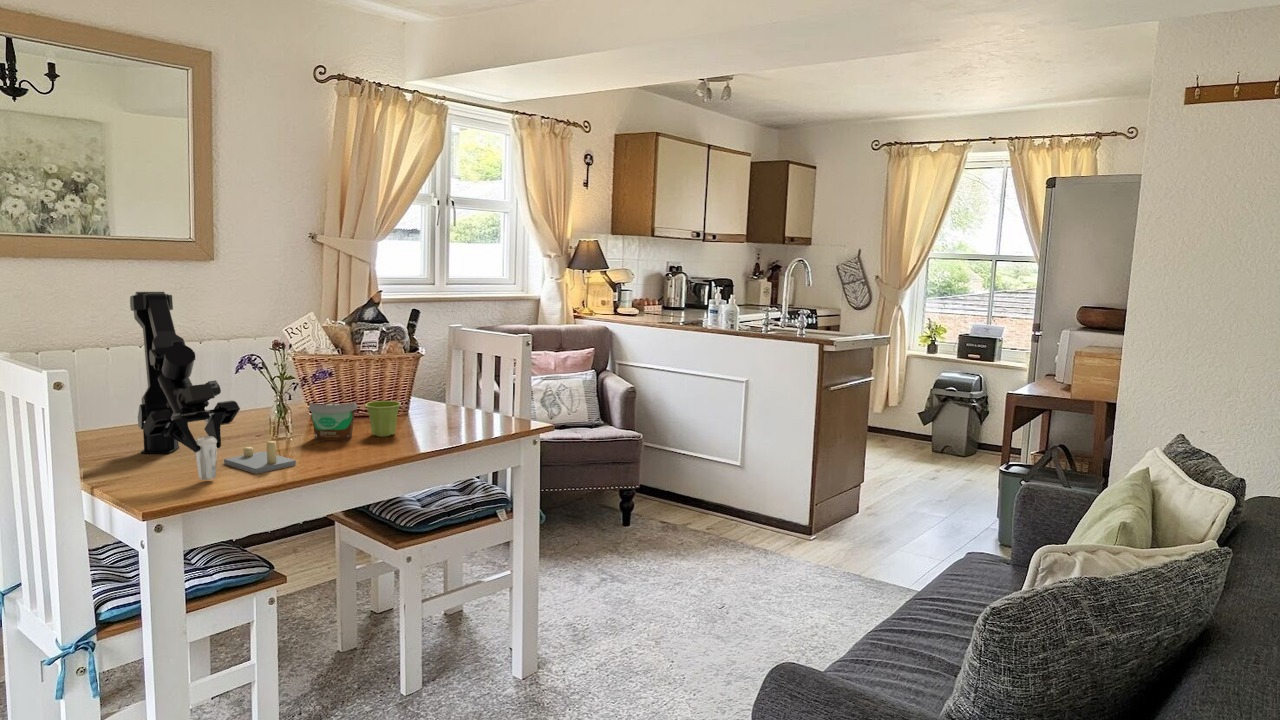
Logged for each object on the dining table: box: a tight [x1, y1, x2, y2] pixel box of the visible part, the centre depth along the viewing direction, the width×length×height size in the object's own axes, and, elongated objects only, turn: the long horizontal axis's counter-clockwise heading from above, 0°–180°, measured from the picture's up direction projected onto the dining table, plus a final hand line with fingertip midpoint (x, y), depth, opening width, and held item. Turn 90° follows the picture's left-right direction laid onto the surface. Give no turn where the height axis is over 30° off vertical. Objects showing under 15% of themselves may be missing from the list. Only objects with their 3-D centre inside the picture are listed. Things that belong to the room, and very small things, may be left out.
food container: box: [308, 401, 358, 443], centre depth 220 cm, size 12×6×10 cm, turn 105°
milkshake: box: [194, 435, 218, 481], centre depth 179 cm, size 4×5×10 cm
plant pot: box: [364, 400, 402, 438], centre depth 228 cm, size 9×9×9 cm
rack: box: [223, 440, 297, 475], centre depth 194 cm, size 13×10×6 cm
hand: (208, 449), depth 178 cm, fingers closed on milkshake, 4 cm apart
